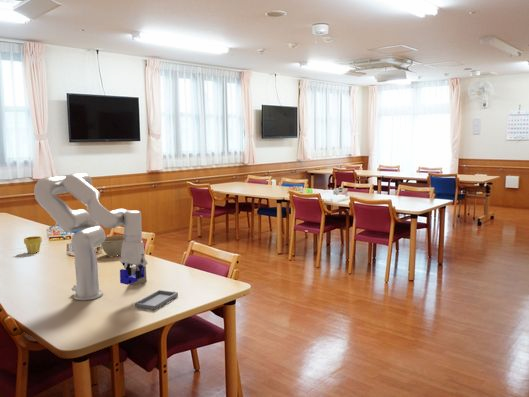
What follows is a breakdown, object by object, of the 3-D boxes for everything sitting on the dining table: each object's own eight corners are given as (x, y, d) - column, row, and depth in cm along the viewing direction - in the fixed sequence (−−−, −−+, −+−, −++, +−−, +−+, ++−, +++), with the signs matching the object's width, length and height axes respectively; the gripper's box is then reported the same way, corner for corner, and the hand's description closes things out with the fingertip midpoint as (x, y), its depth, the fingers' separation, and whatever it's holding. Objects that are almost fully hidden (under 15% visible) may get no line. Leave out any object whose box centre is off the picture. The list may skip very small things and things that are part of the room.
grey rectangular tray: (134, 307, 194) (134, 303, 193) (159, 294, 210) (158, 289, 210) (154, 310, 190) (154, 306, 190) (177, 296, 207) (177, 292, 206)
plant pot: (45, 251, 295) (44, 237, 294) (30, 255, 286) (29, 240, 285) (36, 249, 301) (35, 235, 299) (21, 253, 292) (20, 238, 291)
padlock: (128, 283, 226) (127, 254, 224) (143, 280, 232) (142, 251, 230) (132, 285, 223) (130, 256, 221) (147, 281, 229) (146, 253, 227)
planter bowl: (101, 253, 289) (100, 236, 288) (127, 251, 294) (127, 234, 292) (100, 259, 274) (99, 242, 272) (128, 257, 279) (127, 239, 277)
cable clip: (127, 284, 197) (127, 271, 196) (120, 282, 199) (119, 269, 198) (146, 277, 207) (146, 264, 206) (139, 275, 209) (139, 263, 208)
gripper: (111, 237, 200) (112, 277, 202) (143, 242, 194) (144, 282, 196) (122, 234, 207) (123, 272, 209) (153, 238, 201) (154, 277, 203)
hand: (133, 277), depth 203 cm, fingers closed on cable clip, 4 cm apart
